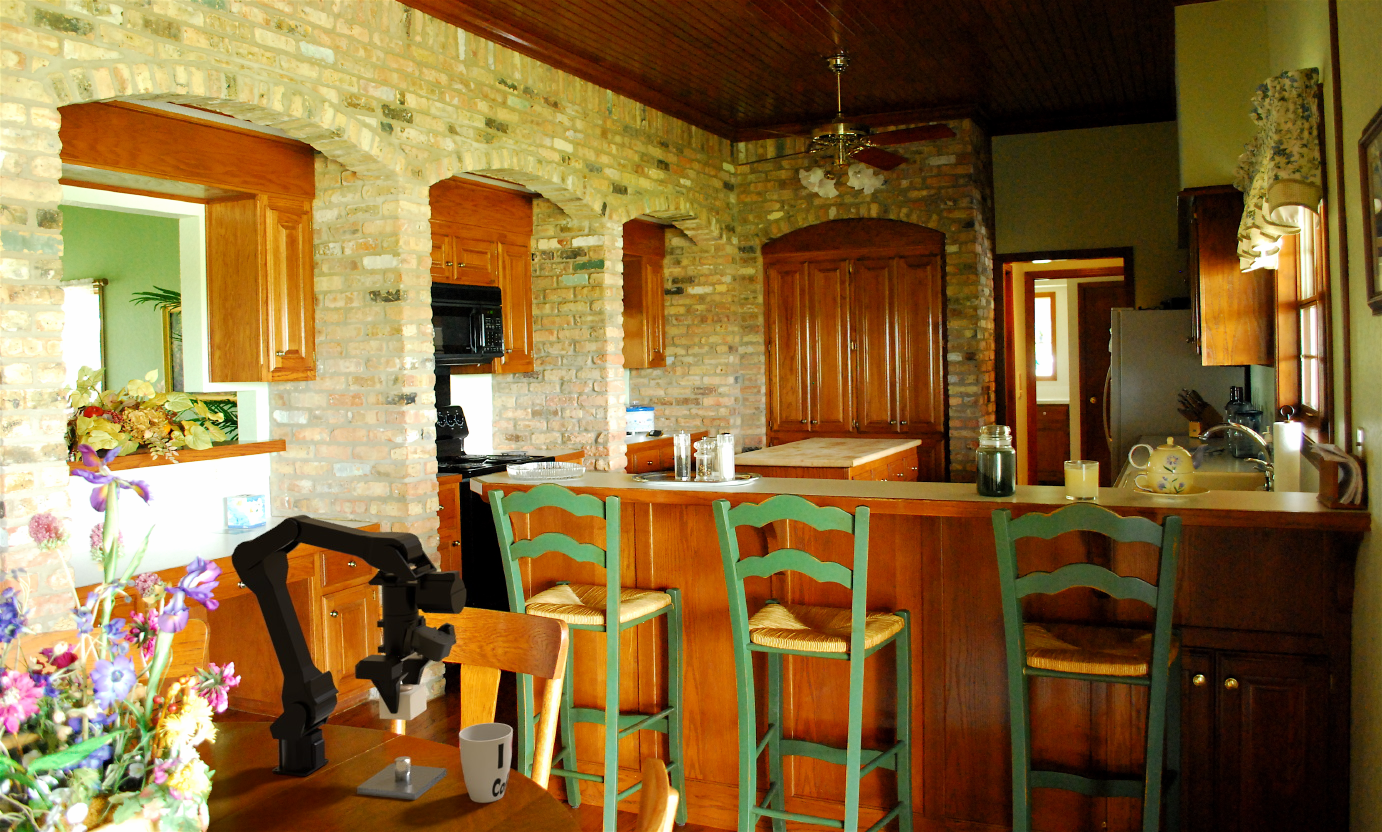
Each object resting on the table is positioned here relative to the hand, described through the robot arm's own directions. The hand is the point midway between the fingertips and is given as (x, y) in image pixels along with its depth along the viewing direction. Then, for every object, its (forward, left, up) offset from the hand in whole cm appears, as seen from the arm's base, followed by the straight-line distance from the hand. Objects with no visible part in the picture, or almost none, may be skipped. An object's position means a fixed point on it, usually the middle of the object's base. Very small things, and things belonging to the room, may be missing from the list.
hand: (402, 707), depth 159 cm
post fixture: (+2, -3, -11) cm, 12 cm away
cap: (0, 0, -1) cm, 1 cm away
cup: (+17, -4, -11) cm, 21 cm away
